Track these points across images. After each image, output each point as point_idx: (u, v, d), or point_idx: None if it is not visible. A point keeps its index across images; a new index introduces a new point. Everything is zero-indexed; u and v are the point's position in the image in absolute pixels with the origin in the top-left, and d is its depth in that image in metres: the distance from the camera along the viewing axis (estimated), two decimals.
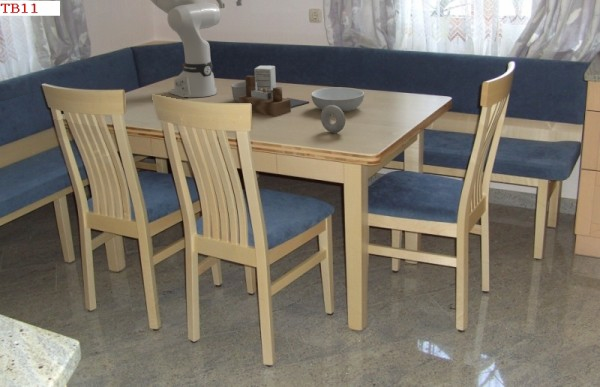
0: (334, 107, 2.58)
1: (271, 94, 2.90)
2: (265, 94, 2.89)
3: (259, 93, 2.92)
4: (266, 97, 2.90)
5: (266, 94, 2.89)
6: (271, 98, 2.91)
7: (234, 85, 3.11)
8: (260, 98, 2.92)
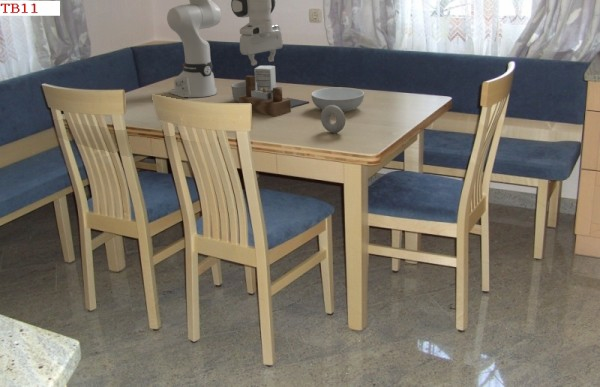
0: (334, 107, 2.58)
1: (271, 94, 2.90)
2: (265, 94, 2.89)
3: (259, 93, 2.92)
4: (266, 97, 2.90)
5: (266, 94, 2.89)
6: (271, 98, 2.91)
7: (234, 85, 3.11)
8: (260, 98, 2.92)
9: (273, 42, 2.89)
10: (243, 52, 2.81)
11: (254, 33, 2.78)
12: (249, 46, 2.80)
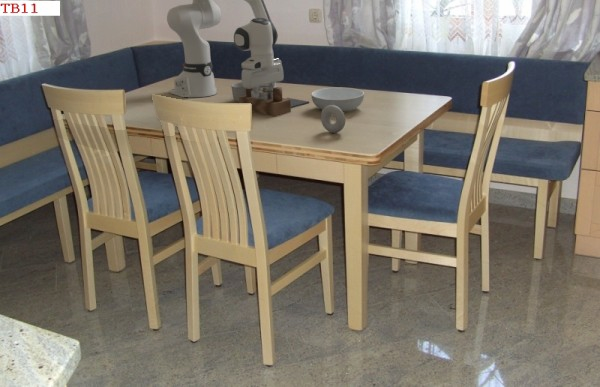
0: (334, 107, 2.58)
1: (271, 94, 2.90)
2: (265, 94, 2.89)
3: None
4: (266, 97, 2.90)
5: (266, 94, 2.89)
6: (271, 98, 2.91)
7: (234, 85, 3.11)
8: (260, 98, 2.92)
9: (275, 75, 2.94)
10: (245, 86, 2.85)
11: (256, 67, 2.83)
12: (251, 80, 2.84)
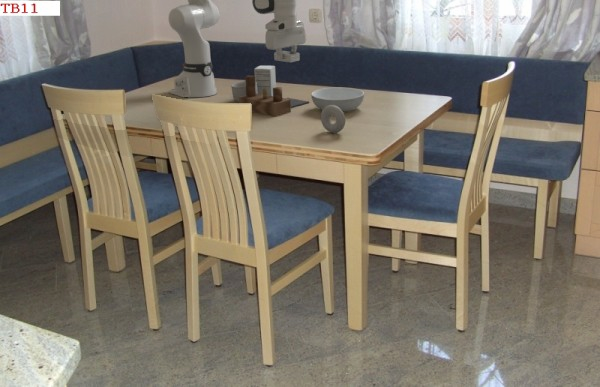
0: (334, 107, 2.58)
1: (294, 56, 2.96)
2: (288, 55, 2.94)
3: None
4: (289, 58, 2.95)
5: (289, 55, 2.94)
6: (294, 59, 2.96)
7: (234, 85, 3.11)
8: (283, 60, 2.97)
9: (297, 38, 2.99)
10: (269, 47, 2.90)
11: (279, 28, 2.88)
12: (274, 41, 2.89)
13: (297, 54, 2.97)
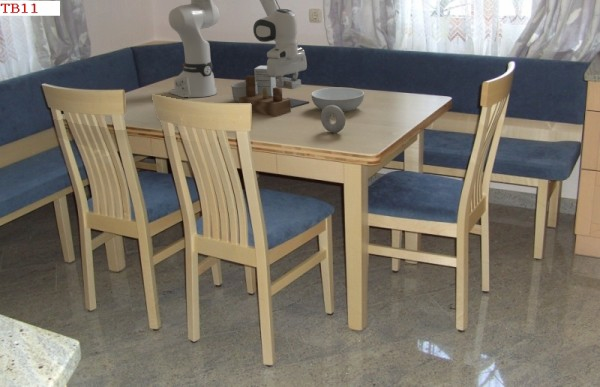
0: (334, 107, 2.58)
1: (295, 82, 2.99)
2: (290, 82, 2.98)
3: None
4: (291, 85, 2.98)
5: (291, 82, 2.98)
6: (295, 86, 3.00)
7: (234, 85, 3.11)
8: (285, 86, 3.01)
9: (298, 64, 3.02)
10: (270, 74, 2.94)
11: (281, 56, 2.92)
12: (276, 69, 2.93)
13: (298, 81, 3.00)
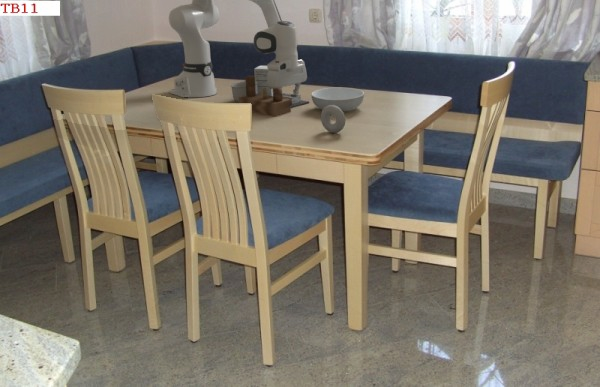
0: (334, 107, 2.58)
1: (295, 98, 3.02)
2: (290, 98, 3.01)
3: (284, 97, 3.03)
4: (291, 101, 3.01)
5: (291, 98, 3.00)
6: (295, 102, 3.02)
7: (234, 85, 3.11)
8: None
9: (298, 76, 3.04)
10: (270, 86, 2.96)
11: (281, 69, 2.94)
12: (276, 81, 2.95)
13: (298, 97, 3.03)
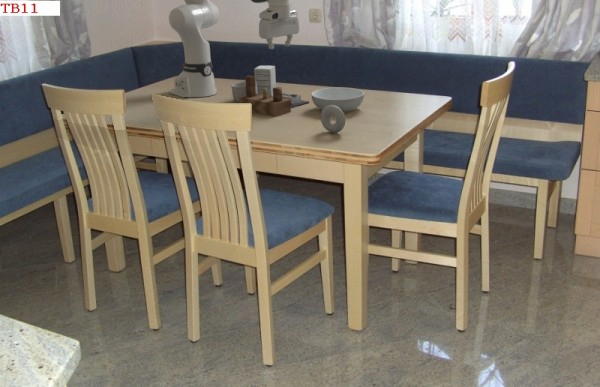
0: (334, 107, 2.58)
1: (295, 98, 3.02)
2: (290, 98, 3.01)
3: (284, 97, 3.03)
4: (291, 101, 3.01)
5: (291, 98, 3.00)
6: (295, 102, 3.02)
7: (234, 85, 3.11)
8: None
9: (291, 27, 3.01)
10: (262, 36, 2.93)
11: (273, 18, 2.91)
12: (268, 31, 2.92)
13: (298, 97, 3.03)
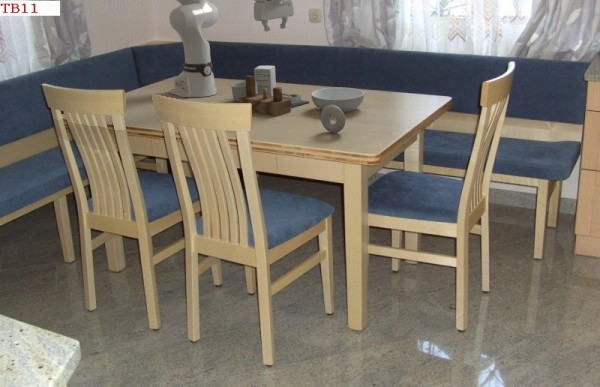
0: (334, 107, 2.58)
1: (295, 98, 3.02)
2: (290, 98, 3.01)
3: (284, 97, 3.03)
4: (291, 101, 3.01)
5: (291, 98, 3.00)
6: (295, 102, 3.02)
7: (234, 85, 3.11)
8: None
9: (285, 10, 3.03)
10: (257, 18, 2.95)
11: (267, 0, 2.92)
12: (262, 13, 2.94)
13: (298, 97, 3.03)
